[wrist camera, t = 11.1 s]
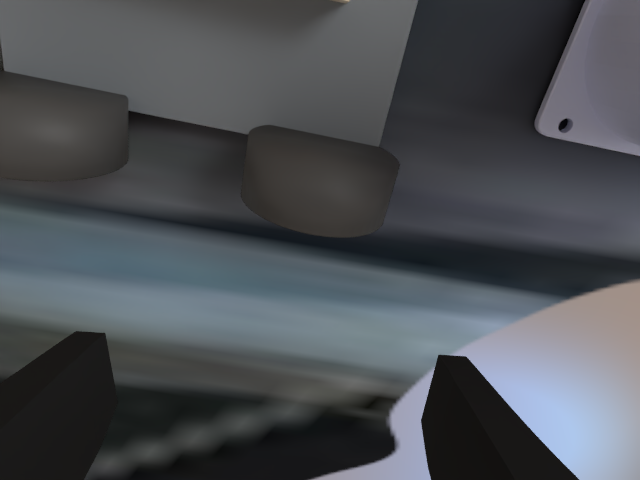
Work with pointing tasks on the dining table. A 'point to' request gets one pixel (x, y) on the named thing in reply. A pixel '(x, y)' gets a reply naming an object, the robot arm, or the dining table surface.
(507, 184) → the dining table surface
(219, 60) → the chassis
